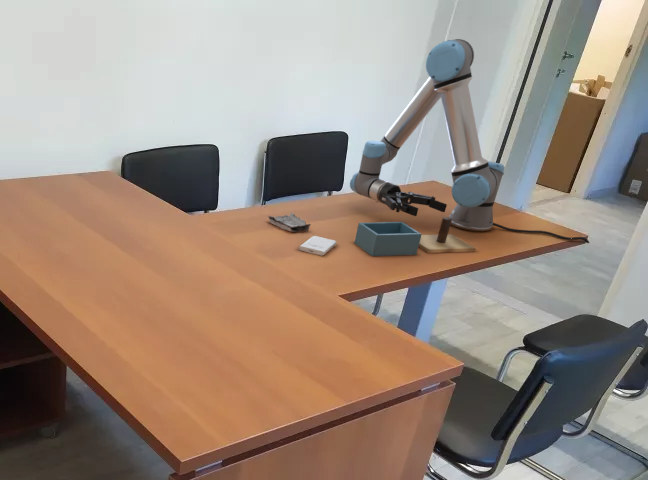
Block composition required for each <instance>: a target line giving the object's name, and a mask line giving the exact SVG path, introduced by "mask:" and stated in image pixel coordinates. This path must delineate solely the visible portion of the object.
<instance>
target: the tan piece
mask: <svg viewBox="0 0 648 480" xmlns="http://www.w3.org/2000/svg"><path fill="white" fill-rule="evenodd" d="M451 222H452V219H451V218H449V216H443V217H442V218H441V221H440V225H439V229H438V233H437V234H422V235H421V239H420V243H419V247H418V248H420V249H421V250H423V251H424V252H426V253H427V254H437V253H439V254H440V253H441V254H442V253H469V252H470V253H472V252H476V249H477V248H476V247H474V246H473V245H471V244H470V243H468V242H467V241H464V240H463V239H461V238H459V237H458V236H456V235H454V234H452V233H449V232H450V229H451V226H452V225H451Z"/></svg>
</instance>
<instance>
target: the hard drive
mask: <svg viewBox="0 0 648 480" xmlns="http://www.w3.org/2000/svg"><path fill="white" fill-rule="evenodd" d="M337 243H338V242H337V240H335V239H330V238H327V237H326V238H325V237H321V236H318V235H313V236H311V237H310V238H308V239H307V240H306V241H304V242H303V243H302V244H300V245H299V247H298V250H299V251H300V252H305V253H308V254H309V253H310V254H313V255H317V256H321V257H323V256H324V255H326V254H327V253H328V252H329V251H330V250H332V249H333V248H334V247H335V246H336V245H337Z"/></svg>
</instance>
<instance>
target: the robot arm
mask: <svg viewBox="0 0 648 480" xmlns="http://www.w3.org/2000/svg"><path fill="white" fill-rule="evenodd" d="M474 59H475V51H474V48H473V46H472V44H471V43H470V42H468V41H467V40H465V39H462V38H456V39H455V38H454V39H448V40H447V39H446V40H443V41H442V42H440V43H438V44H436V45H435V46H434V47H433V48H431V50H430V51H429V53H428V55H427V57H426V60H425V70H426V72H427V75H428V76H429V77H428V78H427V79H426V81H425V82H424V83H423V85H422V86H421V88H419V90H418V91H417V92H416V94H415V95H414V96H413V98H412V99H411V100H410V102H409V103H408V104H407V106H406V107H405V108H404V110H403V111H402V112H401V113H400V115H399V116H398V117H397V119H396V120H395V121H394V122H393V123H392V125H391V126H390V127H389V129H387V130H388V131H386V133H385V134H384V136H382V138H381V140H367V141H366V142H365V143H364V147H363V149H362V154H361V155H362V156H361V160H360V165H359V170H358V172H355V173H354V174H353V175H352V177H351V179H350V181H349V187H350V189H351V191H352V192H354V193H356V194H358V195H360V196H362V197H365V198H368V199H370V200H373V201H375V202H376V203H381V204H383V205H385V206H387V207H388V208H389V209H390V210H391V211H395V213H400V211H401V212H403V213H406V214H408V215H410V216H413V217H417V216H418V212H419V207H417V206H414V205H411V204H415V205H421V206H427V207H429V208H431V209H434V210H436V211H438V212H441V213H445V212H446V209H447V203H444V202H443V201H442V202H441V201H439V200H436V197H435V196H430V195H425V194H421V193H416V192H412V191H407V192H406V191H402V190H401V187H400V186H399V185H398V184H395V183H392V182H390V181H387V180H385V179H382V178H380V175H381V172H382V167H383V165H385V164H387V163H389V162H391V161H393V160H394V159H395V158H396V157H397V155H398V152H399V151H400V149H401V148H402V147H403V146H404V144H405V143H406V141H407V140H408V139H409V138H410V136H411V135H412V134H413V133H414V132H415V130H416V129H417V128H418V127H419V126H420V124H421V123H422V121H423V120H424V119H425V118H426V117H427V116H428V115H429V113H430V112H431V110H432V109H433V108H434V107H435V106H436V104H437V103H438V102H439V100H441V104H442V108H443V114H444V118H445V123H446V130H447V134H448V139H449V143H450V149H451V153H452V159H453V163H454V166H453V167H452V168H451V170H450V173H451V178H452V186H451V197H452V199H453V200H454V202H455V203H456V205H455V207H454V208H452V210H451V212H450V214H449V216H448V217H449V218H451V219H452V222H451V225H450V226H452V227H455V228H457V229H461V230H464V231H470V232H477V233H478V232H480V233H481V232H482V233H483V232H490V231H491V230H492V229H493V226H494V227H497V228H500V229H502V230H505V231H509V232H514V233H525V234H544V235H549V236H552V237H555V238H558V239H561V240H567V241H577V240H581V241H584V242H585V243H586V244H590V241H589V240H588V238H586V237H583V236H575V237H573V236H571V237H568V236H563V235H560V234H557V233H554V232H550V231H546V230H532V229H531V230H530V229H529V230H528V229H516V228H511V227H507V226H504V225H501V224H498V223H496V222H494V210H493V209H494V204H495V201H496V198H497V195H498V192H499V189H500V185H501V182H502V179H503V176H504V174H505V170H506V169H505V165H504V164H502V163H498V162H494V161H489V160H487V159H486V158H484V157H483V155H482V150H481V145H480V139H479V133H478V129H477V128H478V127H477V124H476V118H475V114H474V107H473V102H472V97H471V93H470V88H469V84H470V82H471V80H472V79H473V75H472V69H471V67H472V65H473V63H474ZM571 238H572V239H571Z"/></svg>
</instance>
